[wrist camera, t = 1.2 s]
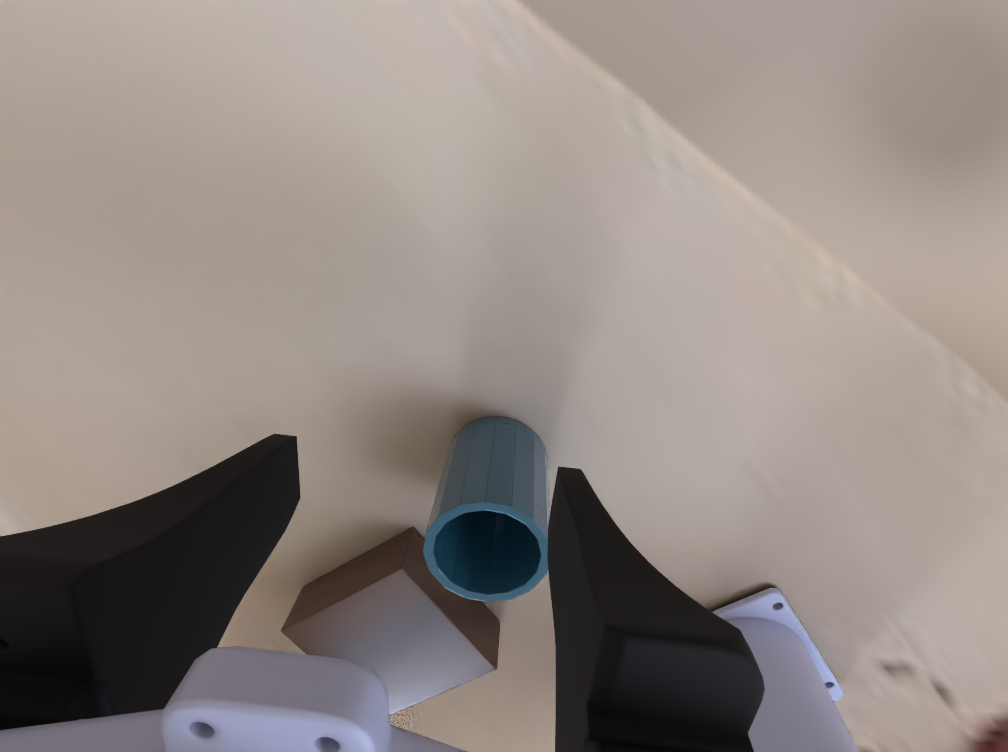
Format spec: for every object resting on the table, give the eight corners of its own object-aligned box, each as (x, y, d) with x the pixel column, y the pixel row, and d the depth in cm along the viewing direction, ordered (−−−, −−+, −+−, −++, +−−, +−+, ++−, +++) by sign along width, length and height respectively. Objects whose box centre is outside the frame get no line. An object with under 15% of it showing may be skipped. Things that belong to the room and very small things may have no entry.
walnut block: (501, 622, 31) (497, 669, 28) (392, 671, 33) (379, 720, 31) (413, 526, 29) (401, 568, 26) (302, 586, 31) (279, 631, 28)
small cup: (566, 472, 27) (574, 570, 21) (485, 514, 28) (472, 618, 22) (510, 398, 25) (503, 481, 19) (428, 446, 27) (397, 538, 21)
